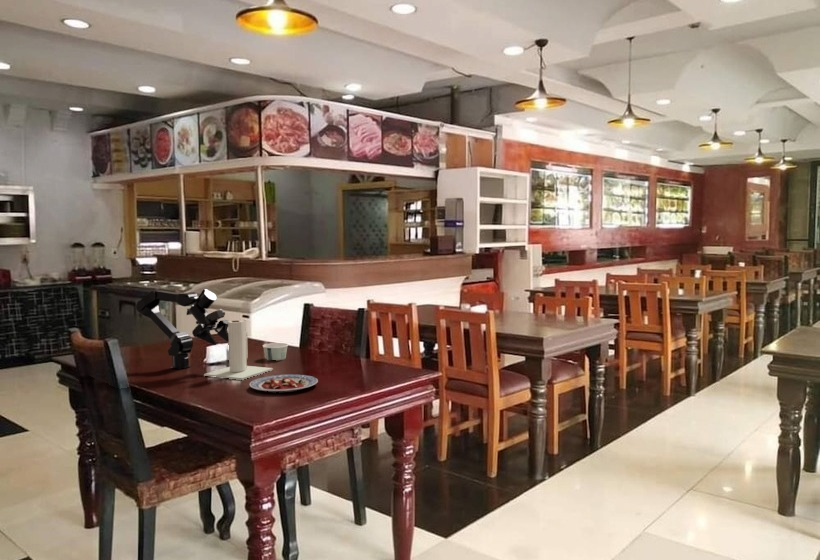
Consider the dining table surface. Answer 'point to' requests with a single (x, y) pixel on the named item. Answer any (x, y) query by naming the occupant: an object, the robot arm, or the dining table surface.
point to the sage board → (241, 375)
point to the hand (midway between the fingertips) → (222, 342)
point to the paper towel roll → (237, 346)
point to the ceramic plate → (283, 383)
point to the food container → (275, 351)
